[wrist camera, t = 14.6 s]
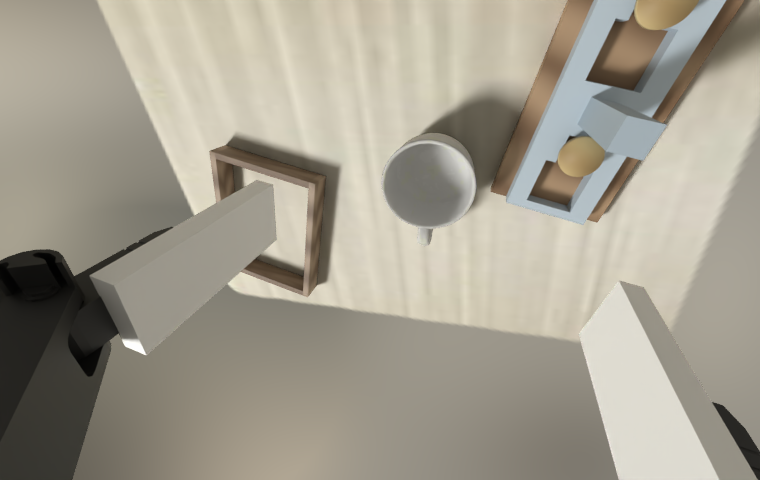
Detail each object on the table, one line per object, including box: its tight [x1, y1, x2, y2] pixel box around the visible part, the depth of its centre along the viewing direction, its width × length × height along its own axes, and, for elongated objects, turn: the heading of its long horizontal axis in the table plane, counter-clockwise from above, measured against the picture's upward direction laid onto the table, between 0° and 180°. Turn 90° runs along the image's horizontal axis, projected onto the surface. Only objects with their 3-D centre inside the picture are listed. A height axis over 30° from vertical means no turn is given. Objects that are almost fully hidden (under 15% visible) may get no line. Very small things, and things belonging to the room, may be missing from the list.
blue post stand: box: [506, 0, 726, 225], centre depth 28 cm, size 24×9×12 cm, turn 169°
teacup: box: [382, 133, 477, 245], centre depth 40 cm, size 14×11×8 cm
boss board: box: [491, 0, 744, 222], centre depth 31 cm, size 28×13×5 cm, turn 169°
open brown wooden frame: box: [210, 145, 326, 297], centre depth 55 cm, size 23×18×4 cm
